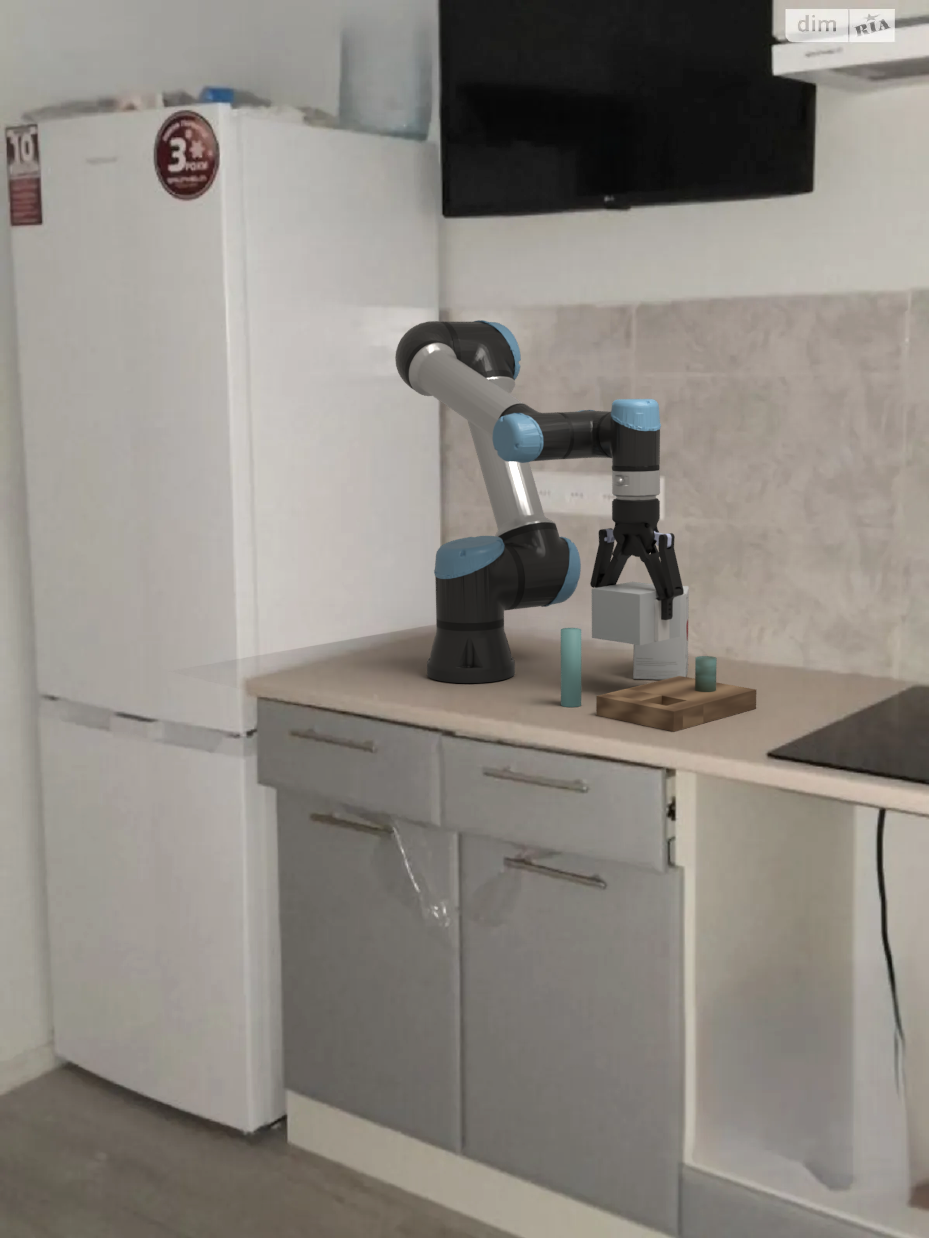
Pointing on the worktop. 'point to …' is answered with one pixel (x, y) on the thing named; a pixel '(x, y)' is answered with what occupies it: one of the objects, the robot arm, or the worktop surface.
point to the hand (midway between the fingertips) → (636, 635)
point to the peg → (571, 667)
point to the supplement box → (665, 651)
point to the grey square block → (629, 613)
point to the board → (678, 700)
